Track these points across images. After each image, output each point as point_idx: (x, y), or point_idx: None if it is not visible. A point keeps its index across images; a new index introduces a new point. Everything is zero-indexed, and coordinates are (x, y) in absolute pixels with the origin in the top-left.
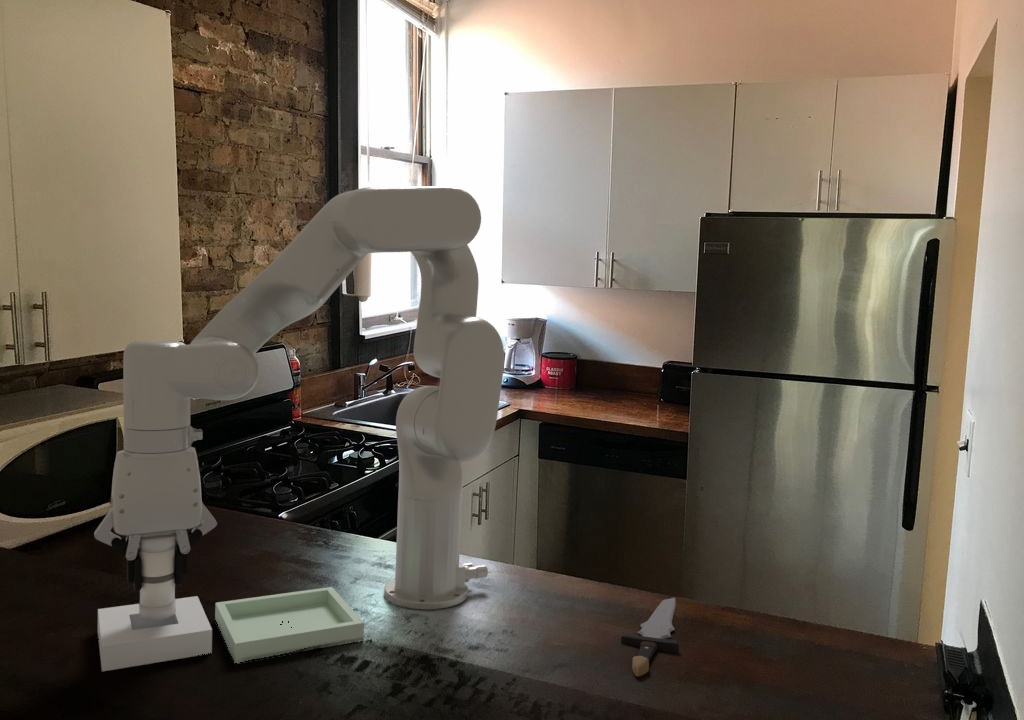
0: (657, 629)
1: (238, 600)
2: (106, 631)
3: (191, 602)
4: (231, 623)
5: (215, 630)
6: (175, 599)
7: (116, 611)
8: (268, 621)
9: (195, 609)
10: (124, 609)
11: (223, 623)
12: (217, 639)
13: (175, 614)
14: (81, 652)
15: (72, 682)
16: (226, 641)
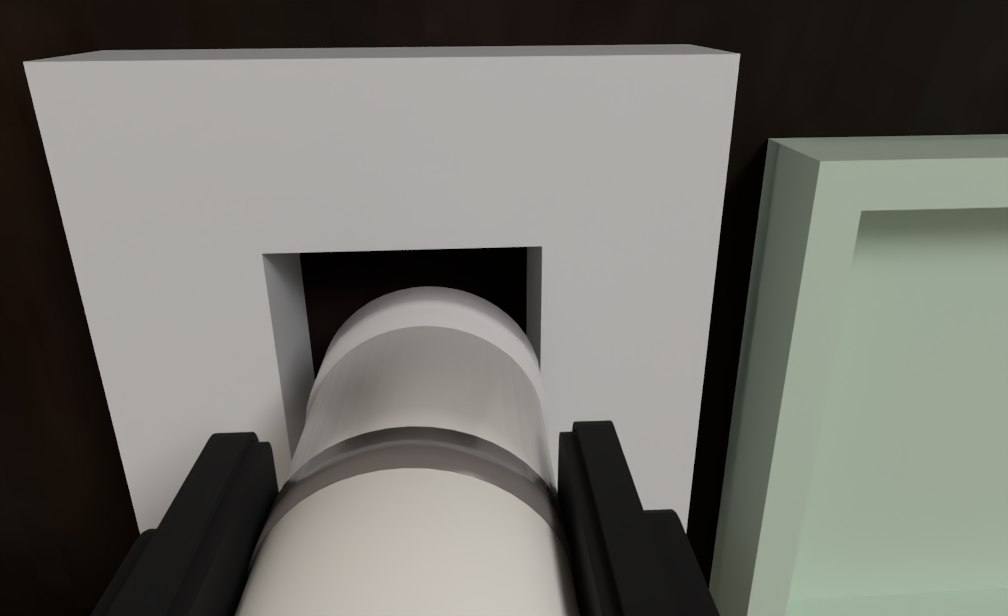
0: None
1: (962, 175)
2: (153, 460)
3: (671, 171)
4: (794, 495)
5: (731, 270)
6: (547, 431)
7: (169, 162)
8: (997, 319)
9: (666, 308)
10: (221, 145)
11: (767, 420)
12: (710, 379)
13: (540, 341)
14: (70, 308)
15: (99, 576)
16: (733, 467)
